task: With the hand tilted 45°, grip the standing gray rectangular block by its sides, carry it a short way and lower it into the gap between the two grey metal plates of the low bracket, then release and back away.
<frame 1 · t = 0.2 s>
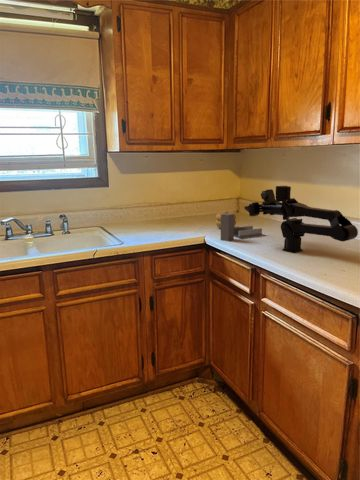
hand: (251, 206, 183), 17 cm above the worktop, tool horizontal, fingers open, 9 cm apart
pot: (225, 228, 215), on the worktop
gray rectangular block: (227, 239, 188), on the worktop
bracket: (245, 234, 198), on the worktop
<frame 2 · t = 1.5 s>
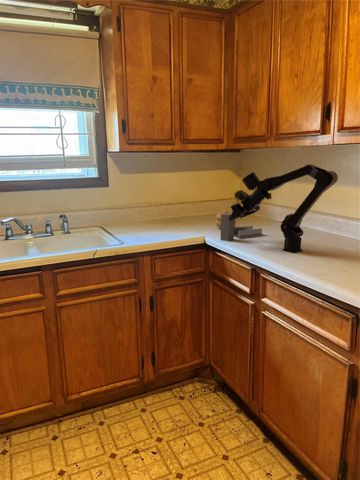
hand: (234, 218, 183), 11 cm above the worktop, tool tilted 45°, fingers open, 9 cm apart
nothing on the worktop moved.
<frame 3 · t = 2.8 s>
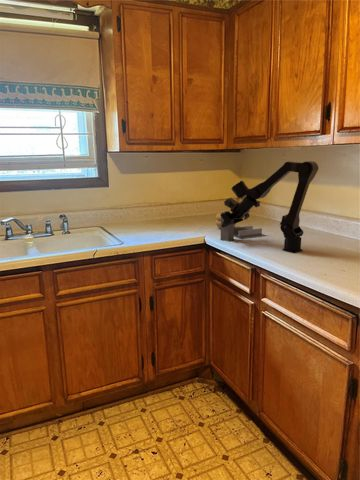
hand: (225, 226, 187), 7 cm above the worktop, tool tilted 45°, fingers closed on gray rectangular block, 5 cm apart
gray rectangular block: (227, 239, 188), on the worktop, touching gripper
everything else where it was.
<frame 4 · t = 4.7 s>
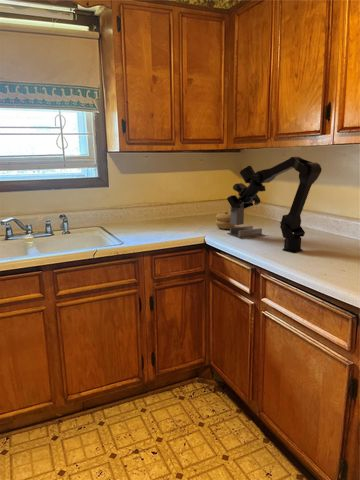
hand: (235, 210, 192), 13 cm above the worktop, tool tilted 45°, fingers closed on gray rectangular block, 5 cm apart
gray rectangular block: (236, 223, 193), point 7 cm above the worktop, touching gripper
everything else where it was.
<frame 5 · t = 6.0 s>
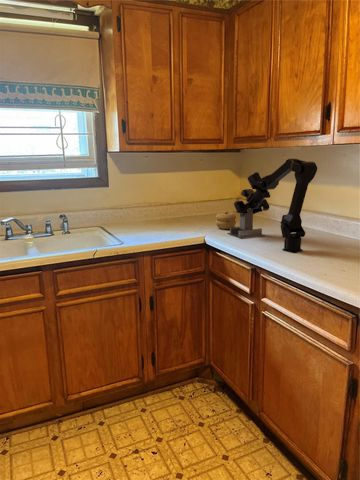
hand: (244, 215, 197), 10 cm above the worktop, tool tilted 45°, fingers closed on gray rectangular block, 5 cm apart
gray rectangular block: (246, 228, 197), point 3 cm above the worktop, touching gripper
everything else where it was.
when the fingers open (9 cm above the worktop, at t = 6.7 s): gray rectangular block drops 1 cm, resting on bracket.
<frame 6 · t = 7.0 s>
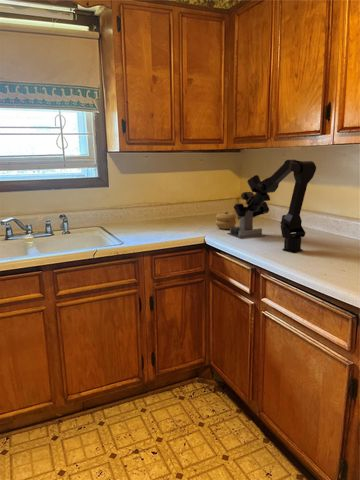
hand: (244, 218, 197), 9 cm above the worktop, tool tilted 45°, fingers open, 8 cm apart
gray rectangular block: (245, 233, 198), point 1 cm above the worktop, touching bracket
everything else where it was.
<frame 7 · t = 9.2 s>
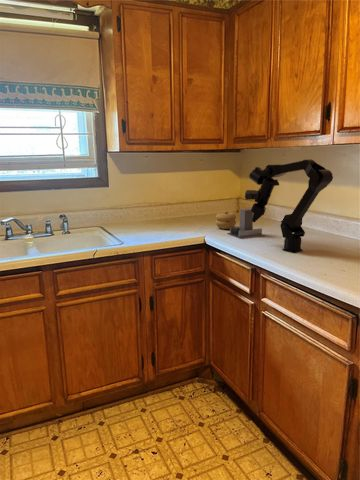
hand: (254, 217, 183), 11 cm above the worktop, tool tilted 25°, fingers open, 9 cm apart
nothing on the worktop moved.
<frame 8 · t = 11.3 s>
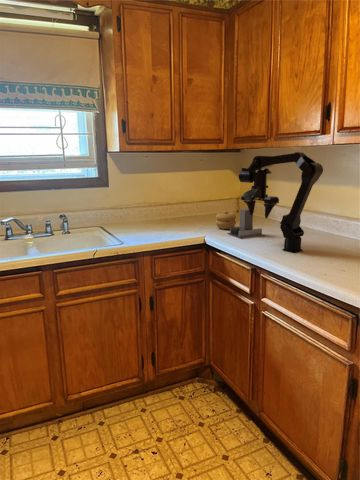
hand: (258, 216, 177), 13 cm above the worktop, tool pointing down, fingers open, 9 cm apart
nothing on the worktop moved.
at the end: gray rectangular block inside the target area on the bracket (0.0 cm from its centre), point 0.5 cm above the bracket's base; gray rectangular block tilted 0°; the gripper is holding nothing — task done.
